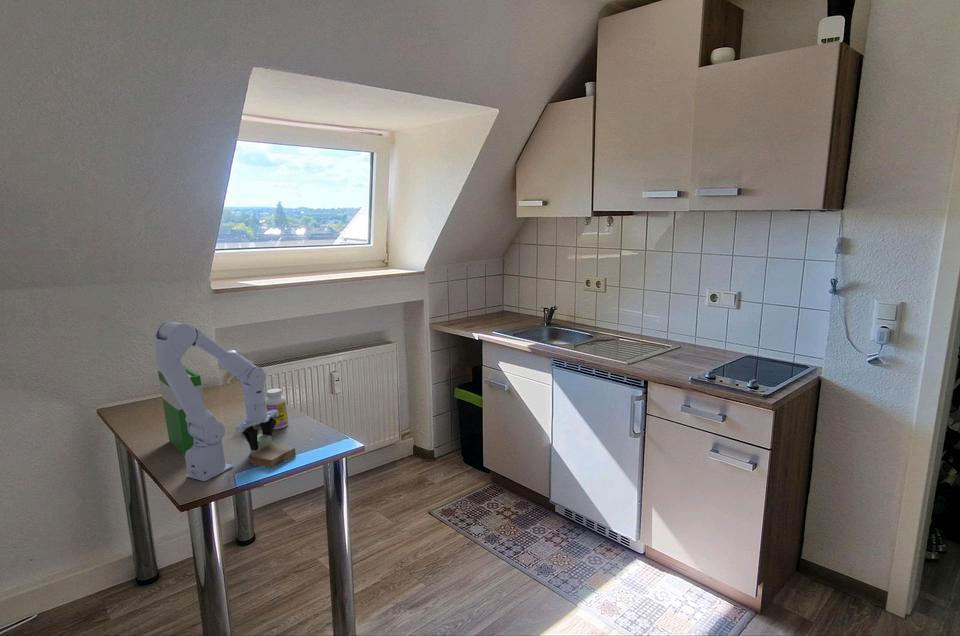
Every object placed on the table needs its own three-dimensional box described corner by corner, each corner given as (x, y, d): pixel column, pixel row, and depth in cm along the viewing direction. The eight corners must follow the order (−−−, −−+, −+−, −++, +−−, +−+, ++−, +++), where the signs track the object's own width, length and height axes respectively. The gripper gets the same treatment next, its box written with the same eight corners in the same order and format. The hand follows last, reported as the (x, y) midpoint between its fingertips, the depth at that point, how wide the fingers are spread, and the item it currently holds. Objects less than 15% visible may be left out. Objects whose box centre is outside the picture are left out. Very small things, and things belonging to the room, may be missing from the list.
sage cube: (261, 455, 166) (259, 441, 165) (250, 453, 168) (248, 439, 167) (272, 449, 169) (271, 435, 169) (262, 447, 171) (260, 433, 171)
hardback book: (169, 441, 180) (157, 370, 175) (193, 434, 185) (183, 365, 180) (185, 457, 167) (173, 381, 162) (211, 449, 172) (200, 375, 167)
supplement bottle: (266, 431, 184) (262, 394, 182) (268, 424, 191) (264, 388, 188) (287, 428, 186) (283, 392, 184) (289, 421, 192) (284, 386, 190)
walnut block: (272, 470, 156) (271, 460, 156) (250, 465, 160) (248, 455, 160) (296, 457, 164) (294, 447, 164) (273, 452, 168) (272, 443, 168)
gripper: (245, 413, 157) (251, 458, 160) (283, 397, 170) (288, 439, 173) (228, 411, 161) (234, 454, 163) (267, 395, 173) (272, 435, 176)
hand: (261, 446), depth 168 cm, fingers closed on sage cube, 4 cm apart
